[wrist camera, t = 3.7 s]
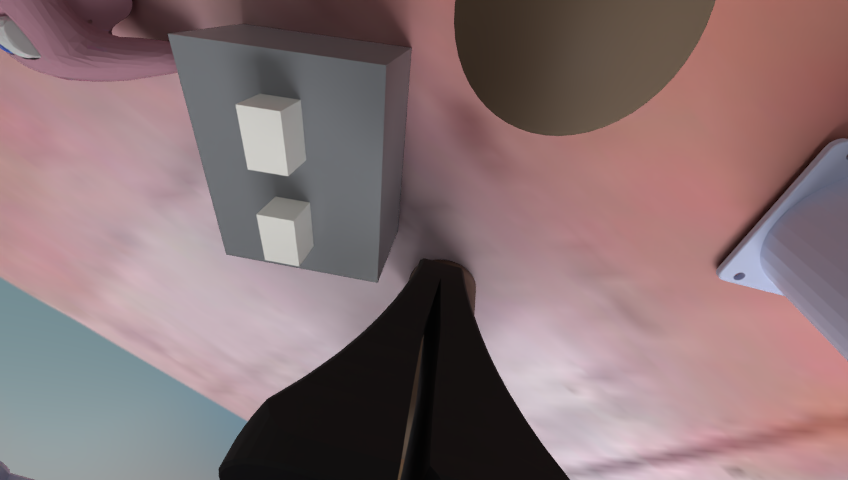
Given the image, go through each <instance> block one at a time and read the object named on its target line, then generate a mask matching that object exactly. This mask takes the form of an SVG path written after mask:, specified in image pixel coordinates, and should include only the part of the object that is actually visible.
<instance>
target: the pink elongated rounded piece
mask: <svg viewBox="0 0 848 480" xmlns="http://www.w3.org/2000/svg"><path fill="white" fill-rule="evenodd" d="M131 9H132V0H0V48H1V49H3V50H4V51H6V52H7V53H8V54H9V55H10V56H11V57H13V58H14V59H16V60H17V61H18V62H20V63H22V64H23V65H25V66H27V67H28V68H30V69H33V70H35V71H38V72H40V73H44V74H47V75H51V76H54V77H58V78H62V79H66V80H79V81H124V80H135V79H141V78H147V77H153V76H160V75H166V74H172V73H177V72H178V71H177V67H176V63H175V60H174V56H173V52H172V48H171V45H170V41H162V40H153V39H144V38H128V37H118V36H114V35H112V32H111V31H112V28H113V27H114V26H115V25H116V24H117V23H119V22H120V21H122V20H123V19H124V18H126V17H127V16H128V15H129V13H130V12H131Z"/></svg>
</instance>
